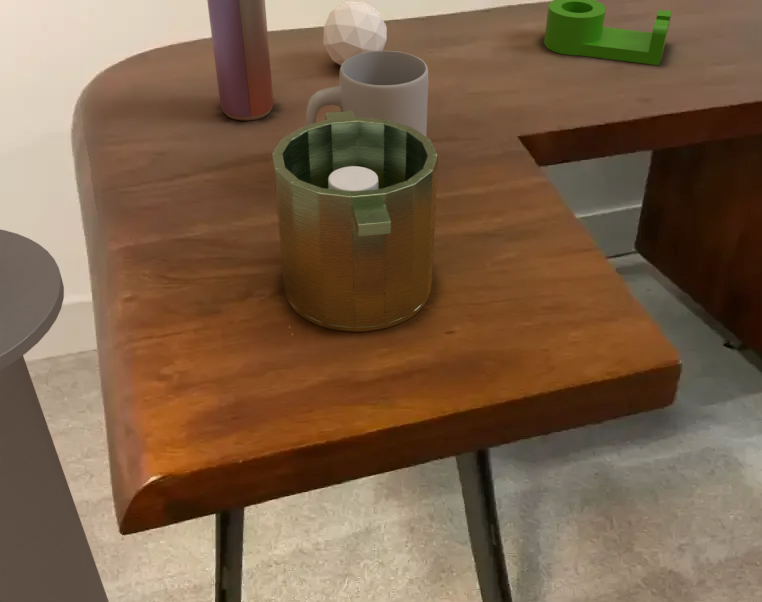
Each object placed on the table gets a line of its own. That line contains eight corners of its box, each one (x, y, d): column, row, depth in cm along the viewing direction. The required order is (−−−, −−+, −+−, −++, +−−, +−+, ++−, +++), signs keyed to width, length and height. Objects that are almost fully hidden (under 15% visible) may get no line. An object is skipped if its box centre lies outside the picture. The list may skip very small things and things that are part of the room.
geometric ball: (371, 90, 115) (399, 50, 108) (311, 73, 111) (335, 31, 104) (372, 39, 117) (398, -3, 110) (313, 21, 114) (336, -23, 107)
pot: (296, 361, 72) (285, 223, 63) (275, 237, 85) (263, 109, 76) (452, 343, 74) (462, 206, 65) (408, 225, 87) (411, 97, 78)
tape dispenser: (539, 51, 117) (543, 13, 113) (549, 30, 122) (554, -6, 118) (659, 66, 113) (667, 28, 110) (664, 44, 118) (672, 7, 115)
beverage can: (224, 124, 102) (206, -17, 91) (218, 101, 106) (201, -36, 96) (277, 119, 103) (266, -22, 92) (269, 96, 107) (258, -41, 97)
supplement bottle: (399, 280, 79) (401, 178, 72) (353, 307, 76) (351, 203, 70) (356, 255, 82) (354, 154, 75) (311, 279, 79) (304, 177, 72)
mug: (413, 149, 97) (415, 45, 90) (435, 188, 91) (440, 81, 84) (302, 162, 95) (295, 57, 88) (317, 203, 89) (311, 95, 82)
